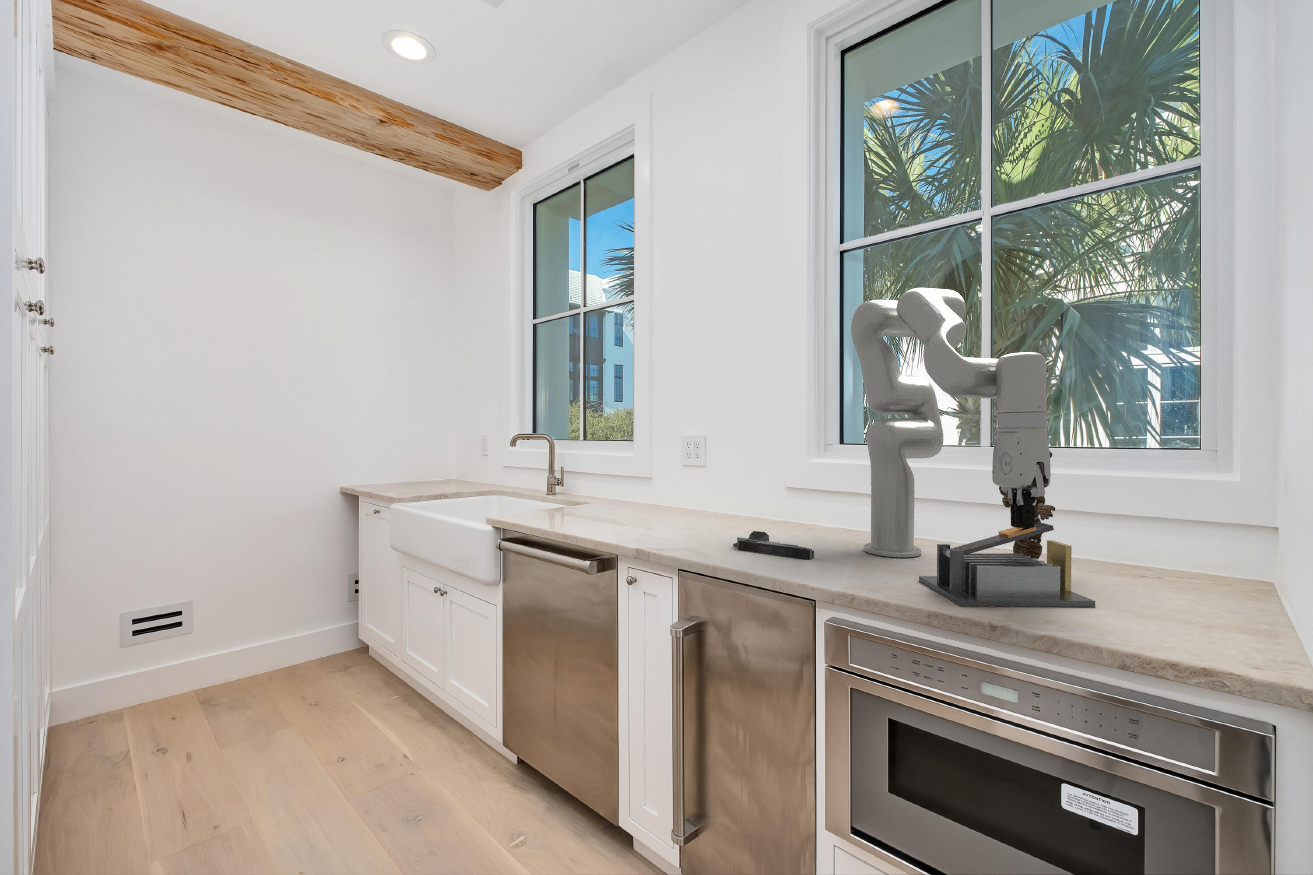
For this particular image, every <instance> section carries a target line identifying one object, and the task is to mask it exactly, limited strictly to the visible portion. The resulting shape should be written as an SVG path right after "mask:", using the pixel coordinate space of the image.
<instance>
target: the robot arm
mask: <svg viewBox="0 0 1313 875" xmlns="http://www.w3.org/2000/svg"><path fill="white" fill-rule="evenodd" d="M965 315H966V302H965V300H964V298H963V297H962V295H960V293H958V292H957V291H955V290H952V289H946V288H945V289H944V288H943V289H942V288H928V287H916V288H912V289H909V290H907V291H905V292H903V294H901V296H900V297H899V298H898V300H891V299H873V300H869V301H865V302H863V303H861V304H859V305H858V307H857V308H856V310H854V313H853V316H852V319H851V324H850V325H851V326H850V335H851V340H852V344H853V346H854V349H855V353H856V354H857V358H858V360H859V365H860V370H861V376H862V380H863V387H864V391H865V399H866V403H867V406H868V408H869V410H870V411H871V412H872V413H874V414H877V415H887V416H888V415H889V416H890V415H893V416H897V415H898V416H900V415H901V416H905V415H906V417H902V418H901V417H888V418H881V419H879V420H876V421H874V422H873V423H871V425H870V426H869V427H868V429H867V433H866V445H867V449H868V450H867V451H868V456H869V464H870V542H869V543H865V544H863V551H864V552H866V553H868V554H871V555H875V556H879V557H880V556H881V557H889V558H915V557H919V556H921V555H922V549H921V547H918V546H915V475H914V473H913V470H912V469H911V466H910V464H909V462H908V461H907V459H929V458H934V457H935V456H937V455H938V454H939V453H940V452H941V450H942V448H943V445H944V429H943V424H942V420H941V415H940V410H939V406H938V401H937V396H936V392H935V389H934V387H933V386H932V384H931V382H930V381H929V380H927V379H926V378H925V377H923V376H919V375H904V374H902V372H901V370H900V366H899V360H898V357H897V354H896V352H895V351H894V349H893V347H892V346H891V345H890V344H889V342H887V341H886V340H885V338H884V337H897V338H898V337H899V338H900V337H902V338H917V339H918V340H919V342H921V344H922V345H923V346H924V350H923V363H924V364H923V365H924V369H925V371H926V373H927V375H928V376H929V377H930V379H931V380H932V381H933V382H934V384H936V385H937V387H938V388H940V389H941V391H942V392H944V393H945V394H947V395H949V396H951V397H953V398H954V397H955V398H962V399H963V398H964V399H971V398H973V399H996V433H995V438H994V442H993V453H992V469H991V470H992V471H991V476H992V477H991V479H992V483H993V484H994V485H996V486H997V487H999V486H1001V490H1002V491H1003V492H1005V493H1007V494H1008V500H1009V503H1010V504H1011V511H1010V526H1011V528H1013V527H1016V528H1034V505H1036V500H1037V497H1040V496H1044V497H1045V495H1046V490H1045V489H1046V488H1048V487H1049V485H1050V483H1051V474H1052V472H1051V458H1050V453H1049V450H1050V447H1049V439H1048V434H1047V431H1048V430H1047V427H1048V424H1047V414H1048V413H1047V363H1046V362H1047V361H1046V358H1045V356H1044V355H1043V354H1041V353H1038V352H1014V353H1008V354H1005V355H1002V356H1000V357H998V358H989V357H988V358H986V357H964V356H962V355H960V354H959V353H958V352H957V351H956V350H955V349H956V348H957V347H958V346H959V345H960V344H961V343H962V342H963V340H964V339H965V337H966V333H967V325H966V323H965V322H964V321H963V319H964V317H965Z"/></svg>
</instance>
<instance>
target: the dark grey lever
mask: <svg viewBox="0 0 1313 875" xmlns="http://www.w3.org/2000/svg"><path fill="white" fill-rule="evenodd" d="M1052 531H1055V528H1054V525H1052V524H1049V523H1044V522H1041V523H1039V524H1036V525H1034V528H1016V527H1011V528H1007V529H1003V530H1000V531H997V533H998V535H994V536H990V537H987V538H983V539H980V540H977V541H973V542H970V543H965V544H961V545H958V546H955V547H952V548H951V547H950V549H947V548H943V549H942V551H941V553H942V555H944V556H946V557H948V558H950V550H964V555H967V554H971V553H978V552H980V551H984V550H989V549H991V548H995V547H999V546H1002V545H1005V544H1006V545H1007V544H1009V543H1012V542H1013V543H1014V542H1015V541H1017V540H1020V539H1024V538H1027V537H1031V536H1034V535H1038V534H1041V533H1042V534H1045V533H1048V532H1052Z"/></svg>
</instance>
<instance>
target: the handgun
mask: <svg viewBox="0 0 1313 875" xmlns="http://www.w3.org/2000/svg"><path fill="white" fill-rule="evenodd" d="M736 541H737V542H735V543H732V547H733V548H736V549H738V551H744V552H751V553H758V554H764V555H770V556H771V555H772V556H778V557H786V558H791V559H792V558H793V559H799V560H806V561H810V560H813V558H815V550H813V549H812V548H809V547H804V546H800V545H799V546H798V545H797V544H789V543H781V542H778V541H770V535H769V534H768V533H767V532H766V531H761V530H760V531H759V530H753V531H752V532H751V533H749V535H748V538H746V537H739V536H737V537H736Z"/></svg>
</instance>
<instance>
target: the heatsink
mask: <svg viewBox="0 0 1313 875" xmlns="http://www.w3.org/2000/svg"><path fill="white" fill-rule="evenodd" d="M936 548H937V549H936V557H937V558H936V575H919V576H918V582H920V583H921V584H923V585H925V586H927V587H928V588H930V589H931V590H933V591H934V592H936V593H938V594H939V595H941V596H942V597H944V598H946V599H948V600H949V601H951V602H953V603H955V604H956V605H958V606H960V607H961V608H962V607H964V606H966V607H967V606H970V607H972V606H974V607H975V606H1008V607H1007V608H1010V607H1011V606H1015V607H1014V608H1016V607H1017V606H1020V607H1019V608H1022V607H1023V608H1028V607H1029V608H1030V607H1031V608H1036V607H1037V608H1039V607H1040V608H1045V607H1046V608H1096V600H1094V599H1091V598H1089V597H1086V596H1084V595H1081V594H1079V593H1077V592H1075V591H1072V548H1073V547H1072V545H1070V544H1067V543H1063V542H1060V541H1056V540H1052V539H1049V540H1047V539H1046V561H1044V560H1039V559H1037V558H1031V556H1024V554H1022V553H1013V552H1011V553H1010V552H1009V553H1007V552H1006V553H1005V552H1003V553H1002V552H1001V553H1000V552H998V553H996V552H995V553H994V552H993V553H992V552H991V553H989V552H988V553H987V552H985V553H984V552H983V553H982V552H979V553H978V552H974V553H971V554H967V555H964V550H950V558H948V557H946V556H944V555H942V553H941V551H942V549H943V548H947V549H951V544H949V543H937V545H936ZM966 607H965V608H966ZM967 608H968V607H967ZM972 608H973V607H972ZM975 608H976V607H975ZM1011 608H1012V607H1011ZM1017 608H1018V607H1017Z"/></svg>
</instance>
